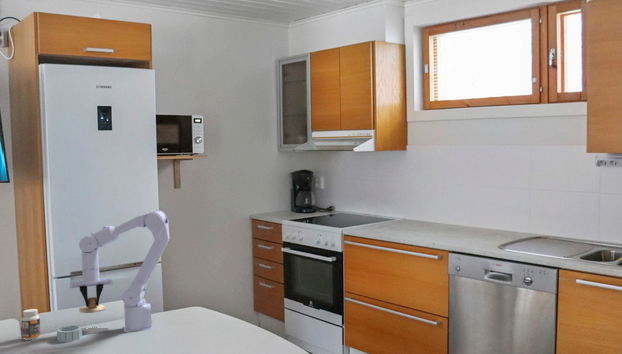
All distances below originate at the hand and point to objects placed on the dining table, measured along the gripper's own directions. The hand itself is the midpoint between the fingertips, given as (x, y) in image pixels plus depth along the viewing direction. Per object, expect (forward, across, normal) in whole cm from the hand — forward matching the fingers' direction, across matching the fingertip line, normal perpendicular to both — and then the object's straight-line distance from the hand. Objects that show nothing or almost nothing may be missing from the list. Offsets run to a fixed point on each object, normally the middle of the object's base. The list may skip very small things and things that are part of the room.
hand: (92, 305), depth 219 cm
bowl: (+9, +8, +8) cm, 14 cm away
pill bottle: (+9, +20, 0) cm, 23 cm away
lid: (+1, 0, 0) cm, 1 cm away
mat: (+9, 0, 0) cm, 9 cm away
